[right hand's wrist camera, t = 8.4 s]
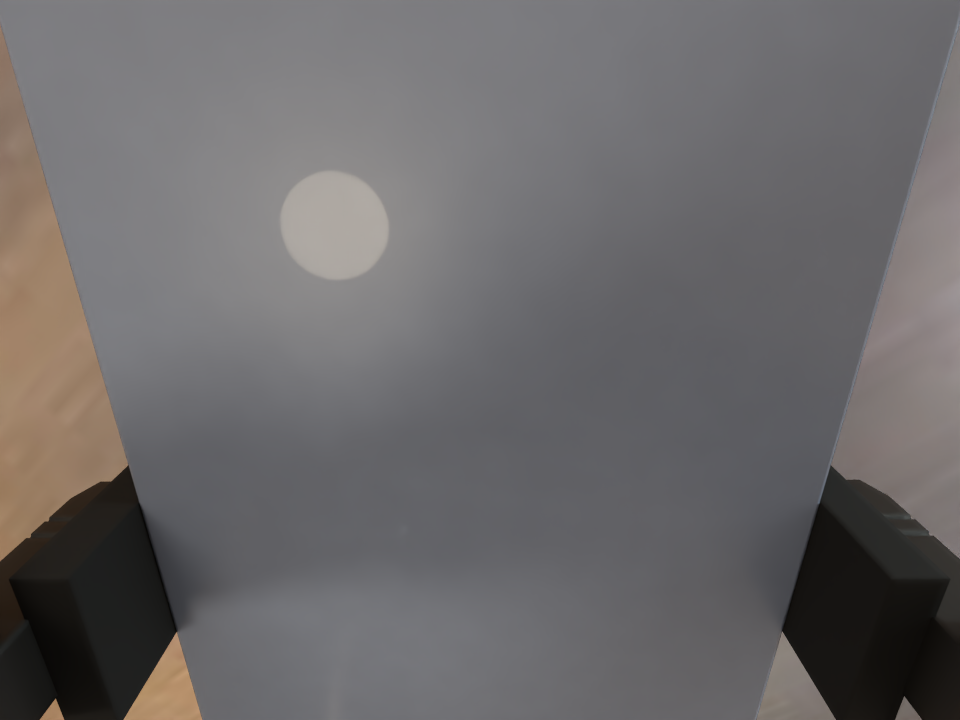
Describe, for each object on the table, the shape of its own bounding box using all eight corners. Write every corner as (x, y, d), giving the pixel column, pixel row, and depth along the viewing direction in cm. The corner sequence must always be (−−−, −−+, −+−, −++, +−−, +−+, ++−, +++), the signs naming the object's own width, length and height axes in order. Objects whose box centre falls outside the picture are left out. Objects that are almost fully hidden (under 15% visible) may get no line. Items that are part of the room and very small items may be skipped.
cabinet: (269, -90, 14) (-161, -513, 5) (689, -90, 14) (1121, -511, 5) (335, 462, 20) (211, 757, 11) (623, 462, 20) (747, 757, 11)
